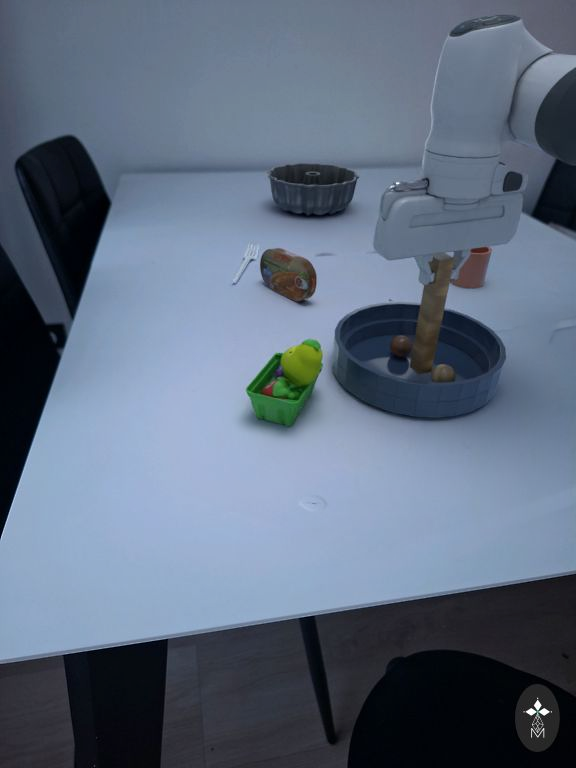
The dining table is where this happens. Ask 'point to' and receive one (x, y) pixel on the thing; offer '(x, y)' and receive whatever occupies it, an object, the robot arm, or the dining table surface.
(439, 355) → the round cake pan
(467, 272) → the pot
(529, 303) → the dining table surface
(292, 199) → the bundt pan
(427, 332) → the stirring stick
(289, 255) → the tin
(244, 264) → the fork
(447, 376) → the bead
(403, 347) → the bead
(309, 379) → the fruit basket
